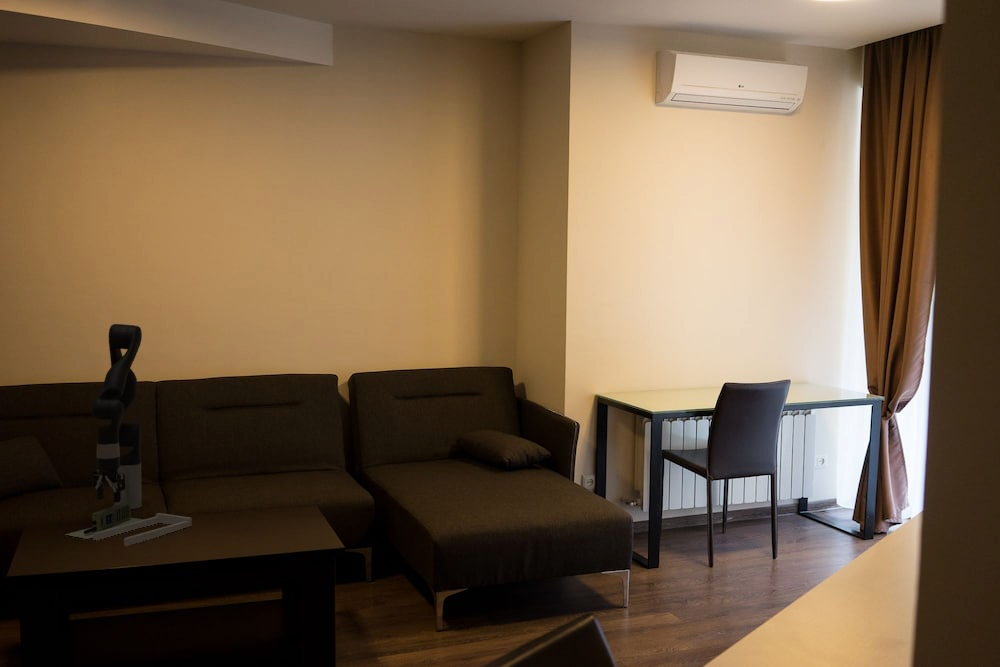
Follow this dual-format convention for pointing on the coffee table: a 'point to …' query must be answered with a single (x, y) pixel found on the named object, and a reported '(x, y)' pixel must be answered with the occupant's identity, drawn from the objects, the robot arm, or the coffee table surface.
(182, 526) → the white u-shaped frame
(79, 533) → the green mat
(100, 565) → the coffee table surface
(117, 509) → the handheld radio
